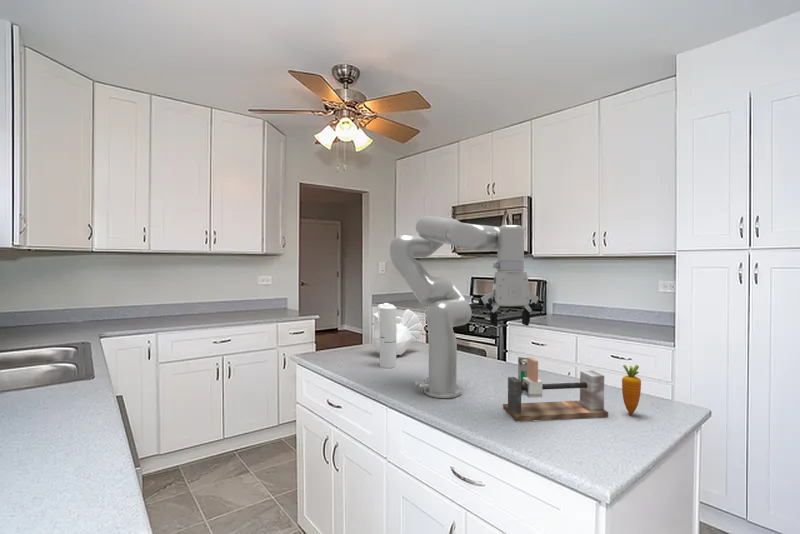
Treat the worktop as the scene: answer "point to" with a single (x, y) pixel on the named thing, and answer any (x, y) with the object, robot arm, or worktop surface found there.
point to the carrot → (631, 389)
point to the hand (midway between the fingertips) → (509, 325)
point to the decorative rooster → (399, 330)
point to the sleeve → (532, 379)
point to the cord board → (585, 408)
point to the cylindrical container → (388, 336)
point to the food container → (522, 369)
